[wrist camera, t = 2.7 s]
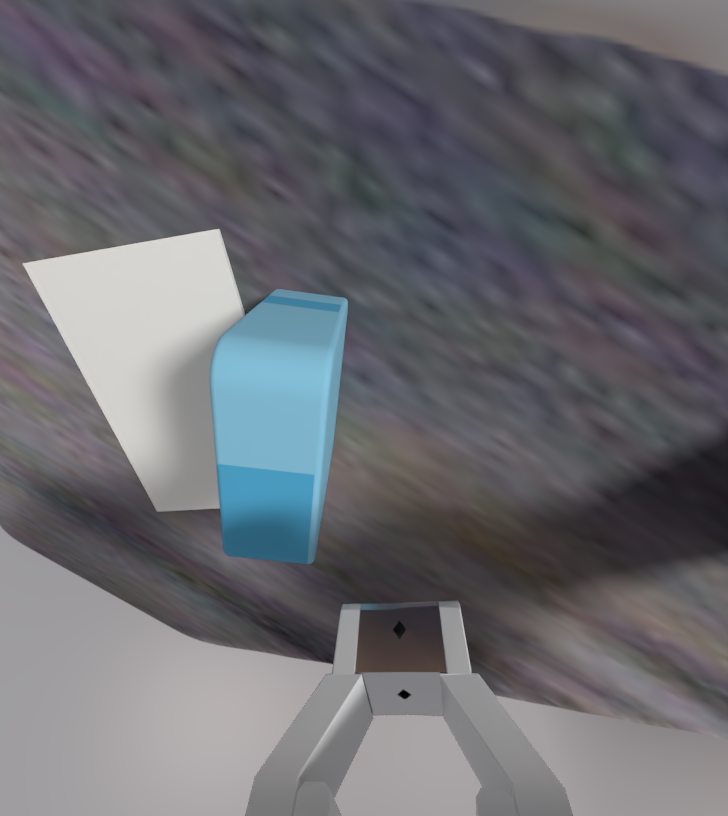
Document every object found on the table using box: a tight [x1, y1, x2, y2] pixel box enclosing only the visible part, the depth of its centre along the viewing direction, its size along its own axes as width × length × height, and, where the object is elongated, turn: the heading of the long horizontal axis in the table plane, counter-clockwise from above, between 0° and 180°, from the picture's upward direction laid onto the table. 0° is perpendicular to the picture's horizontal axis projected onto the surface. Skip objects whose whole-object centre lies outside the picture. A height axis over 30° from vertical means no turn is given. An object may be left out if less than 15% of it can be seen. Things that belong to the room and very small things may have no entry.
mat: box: [23, 229, 245, 512], centre depth 28 cm, size 14×22×1 cm, turn 9°
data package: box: [210, 289, 348, 564], centre depth 21 cm, size 12×4×12 cm, turn 173°
